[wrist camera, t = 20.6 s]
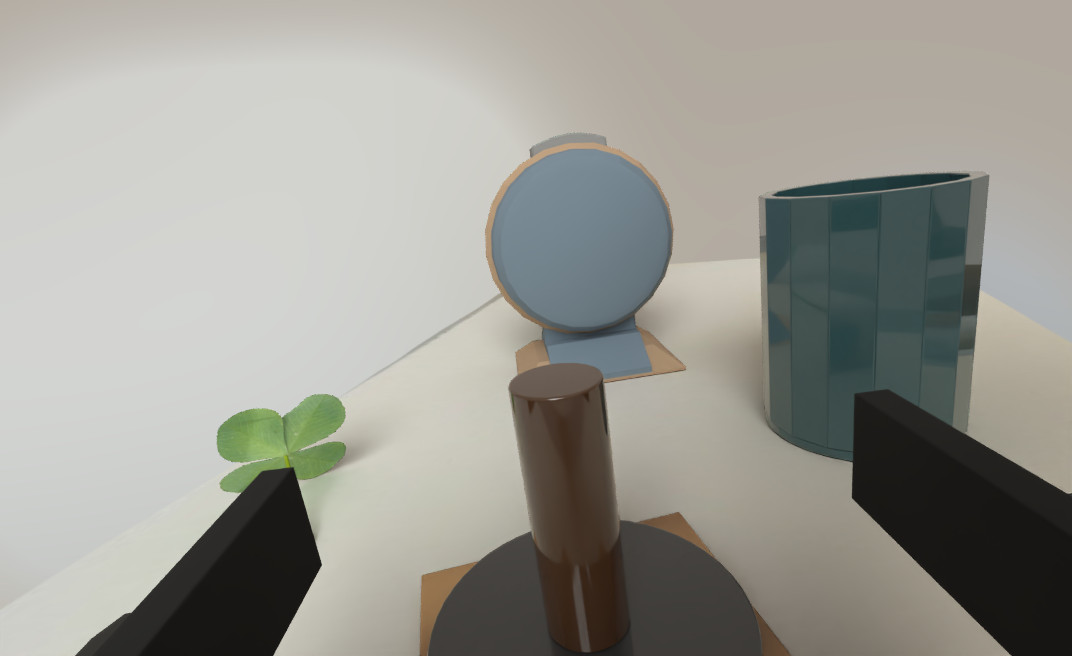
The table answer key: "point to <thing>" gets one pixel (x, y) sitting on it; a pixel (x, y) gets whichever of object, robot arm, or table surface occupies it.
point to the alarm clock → (583, 255)
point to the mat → (444, 581)
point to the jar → (869, 299)
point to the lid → (587, 553)
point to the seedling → (281, 440)
